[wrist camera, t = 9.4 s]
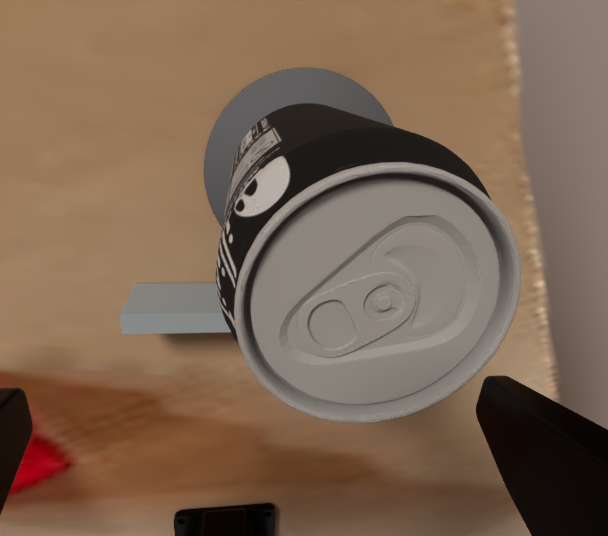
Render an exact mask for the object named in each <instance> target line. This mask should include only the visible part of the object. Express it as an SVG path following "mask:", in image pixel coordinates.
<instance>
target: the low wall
mask: <svg viewBox="0 0 608 536" xmlns="http://www.w3.org/2000/svg"><path fill="white" fill-rule="evenodd" d="M119 317H120V324H121V331H122V334H167V333H217V332H231V331H230V329H229V327H228V325H227V323H226V321H225V318H224V316H223V313H222V309H221V306H220V302H219V298H218V292H217V284H216V283H136V284H135V286H134V288H133V290H132V292H131V293H130V295H129V297H128V299H127V301H126V303H125V305H124V306H123V308H122V310H121V312H120V314H119Z"/></svg>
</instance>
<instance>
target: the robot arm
mask: <svg viewBox="0 0 608 536" xmlns="http://www.w3.org/2000/svg"><path fill="white" fill-rule="evenodd" d="M476 415H477V418H478V421H479V424H480V426H481V428H482V431H483V433H484V436H485V438H486V440H487V443H488V445H489V448H490V450H491V452H492V455H493V457H494V460H495V462H496V464H497V467H498V469H499V472H500V474H501V476H502V479H503V481H504V483H505V485H506V487H507V489H508V491H509V493H510V495H511V497H512V499H513V501H514V503H515V505H516V507H517V509H518V511H519V513H520V514H521V516H522V518H523V520H524V522H525V524H526V526H527V528H528V529H529V531H530V533H531V535H532V536H608V430H607V429H605V428H603V427H601V426H599V425H598V424H596V423H594V422H592V421H590V420H588V419H586V418H584V417H583V416H581V415H579V414H577V413H575V412H573V411H572V410H569V409H568V408H566V407H564V406H562V405H560V404H558V403H557V402H555V401H553V400H551V399H549V398H547V397H545V396H543V395H542V394H540V393H538V392H536V391H534V390H532V389H530V388H528V387H527V386H525V385H523V384H521V383H519V382H517V381H515V380H513V379H512V378H510V377H508V376H488V377H486V378H485V380H484V382H483V385H482V388H481V392H480V395H479V398H478V402H477V405H476ZM31 433H32V419H31V414H30V410H29V406H28V402H27V398H26V394H25V392H24V390H23V389H21V388H0V514H1V512H2V509H3V507H4V504H5V502H6V499H7V497H8V494H9V491H10V489H11V486H12V484H13V481H14V478H15V476H16V473H17V471H18V468H19V466H20V463H21V460H22V458H23V455H24V453H25V450H26V447H27V445H28V442H29V440H30V437H31ZM274 528H275V507H274V506H273V505H272V504H258V505H245V506H232V507H219V508H206V509H193V510H181V511H178V512H176V514H175V517H174V530H175V536H274Z"/></svg>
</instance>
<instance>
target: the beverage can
mask: <svg viewBox="0 0 608 536" xmlns="http://www.w3.org/2000/svg"><path fill="white" fill-rule="evenodd" d="M216 284H217V292H218V298H219V302H220V306H221V309H222V313H223V316H224V318H225V321H226V323H227V325H228V327H229V329H230V331H231V332H232V334H233V336H234V338H235V339H236V341H237V342H238V343H239V345H240V348H241V351H242V353H243V356H244V358H245V360H246V362H247V364H248V366H249V367H250V369H251V371H252V373H253V374H254V375H255V376H256V377H257V379H258V380H259V381H260V382H261V384H262V385H263V386H264V387H265V388H266V389H267V390H268V391H270V392H271V393H272V394H273V395H274V396H275V397H276V398H278V399H279V400H281V401H282V402H284V403H285V404H286V405H288V406H290V407H292V408H294V409H296V410H298V411H300V412H302V413H305V414H308V415H310V416H313V417H316V418H320V419H324V420H329V421H333V422H341V423H372V422H382V421H387V420H392V419H397V418H401V417H404V416H407V415H410V414H413V413H416V412H419V411H421V410H424V409H426V408H428V407H430V406H432V405H434V404H436V403H438V402H440V401H442V400H443V399H445V398H446V397H448V396H449V395H451V394H453V393H454V392H456V391H457V390H459V389H460V388H461V387H462V386H464V385H465V384H466V383H467V382H469V381H470V380H471V379H472V378H473V377H474V376H475V375H476V374H477V373H478V372H479V371H480V370H481V369H482V368H483V367H484V366H485V365H486V364H487V362H488V361H489V360H490V359H491V357H492V356H493V355H494V354H495V352H496V351H497V349H498V348H499V346H500V344H501V343H502V341H503V339H504V338H505V336H506V334H507V332H508V330H509V327H510V325H511V323H512V321H513V318H514V316H515V313H516V309H517V305H518V301H519V297H520V289H521V262H520V255H519V249H518V246H517V243H516V240H515V238H514V235H513V232H512V230H511V228H510V226H509V224H508V222H507V221H506V219H505V218H504V216H503V215H502V213H501V212H500V210H499V209H498V208H497V206H496V205H495V204H494V203H493V202H492V201H491V199H490V197H489V195H488V193H487V191H486V189H485V188H484V186H483V184H482V183H481V181H480V180H479V178H478V177H477V176H476V174H475V173H474V172H473V171H472V169H471V168H470V167H469V166H468V165H467V164H466V163H465V162H464V161H463V160H462V159H461V158H459V157H458V156H457V155H456V154H454V153H453V152H452V151H450V150H449V149H447V148H446V147H444V146H443V145H441V144H439V143H437V142H435V141H433V140H431V139H429V138H426V137H423V136H421V135H418V134H415V133H412V132H409V131H406V130H402V129H399V128H396V127H393V126H390V125H387V124H384V123H380V122H377V121H374V120H371V119H368V118H365V117H362V116H358V115H355V114H352V113H349V112H346V111H343V110H340V109H336V108H333V107H330V106H327V105H322V104H316V103H301V104H294V105H289V106H286V107H283V108H280V109H278V110H276V111H274V112H272V113H270V114H268V115H267V116H265V117H264V118H262V119H261V120H260V121H259V122H257V123H256V124H255V125H254V126H253V127H252V128H251V129H250V131H249V132H248V133H247V134H246V136H245V137H244V139H243V140H242V142H241V144H240V146H239V148H238V150H237V152H236V155H235V158H234V161H233V165H232V171H231V177H230V183H229V189H228V195H227V201H226V207H225V213H224V219H223V225H222V231H221V237H220V243H219V250H218V256H217V265H216Z"/></svg>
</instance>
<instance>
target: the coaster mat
mask: <svg viewBox="0 0 608 536" xmlns="http://www.w3.org/2000/svg"><path fill="white" fill-rule="evenodd" d="M301 103H316V104H322V105H327V106H330V107H333V108H336V109H340V110H343V111H346V112H349V113H352V114H355V115H358V116H362V117H365V118H368V119H371V120H374V121H377V122H380V123H384V124H387V125H390V126H393V124H392V122H391V120H390V118H389V116H388V114H387V113H386V111H385V110H384V108H383V107H382V105H381V104H380V103H379V102H378V101H377V100H376V98H375V97H374V96H373V95H372V94H371V93H369V92H368V91H367V90H366V89H365V88H364V87H362V86H361V85H359V84H358V83H356V82H355V81H353V80H352V79H349V78H347V77H345V76H343V75H341V74H338V73H335V72H332V71H328V70H324V69H317V68H294V69H287V70H282V71H279V72H275V73H272V74H269V75H267V76H265V77H263V78H260V79H258V80H256V81H255V82H253V83H252V84H250V85H249V86H247V87H246V88H244V89H243V90H242V91H241V92H240V93H239V94H237V95H236V96H235V97H234V98H233V99H232V100H231V102H230V103H229V104H228V105H227V106H226V107H225V109H224V110H223V112H222V113H221V115H220V116H219V118H218V119H217V121H216V123H215V125H214V128H213V130H212V132H211V134H210V138H209V141H208V144H207V147H206V154H205V160H204V179H205V188H206V192H207V196H208V200H209V203H210V206H211V208H212V211H213V213H214V215H215V217H216V219H217V220H218V222H219V224H220V225H221V227H222V225H223V219H224V213H225V207H226V201H227V195H228V189H229V183H230V177H231V171H232V165H233V161H234V158H235V155H236V152H237V150H238V148H239V146H240V144H241V142H242V140H243V139H244V137H245V136H246V134H247V133H248V132H249V131H250V129H251V128H252V127H253V126H254V125H255V124H256V123H257V122H259V121H260V120H261V119H262V118H264V117H265V116H267V115H268V114H270V113H272V112H274V111H276V110H278V109H280V108H283V107H286V106H289V105H294V104H301ZM393 127H394V126H393Z"/></svg>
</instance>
